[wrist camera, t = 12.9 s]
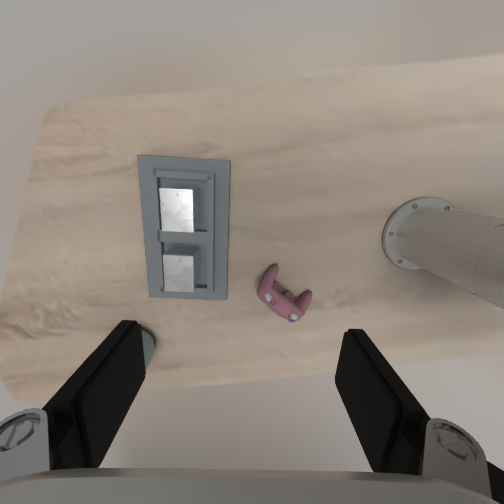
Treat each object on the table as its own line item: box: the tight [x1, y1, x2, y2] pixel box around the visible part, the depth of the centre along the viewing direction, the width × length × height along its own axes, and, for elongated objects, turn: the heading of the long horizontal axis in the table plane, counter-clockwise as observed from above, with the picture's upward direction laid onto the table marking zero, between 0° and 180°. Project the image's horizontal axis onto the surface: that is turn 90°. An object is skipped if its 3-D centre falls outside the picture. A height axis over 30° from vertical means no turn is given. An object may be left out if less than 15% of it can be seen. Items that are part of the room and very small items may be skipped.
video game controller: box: [257, 264, 312, 322], centre depth 41 cm, size 10×5×7 cm, turn 51°
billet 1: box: [159, 187, 200, 232], centre depth 35 cm, size 4×6×5 cm
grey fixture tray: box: [137, 155, 230, 300], centre depth 39 cm, size 14×24×2 cm, turn 177°
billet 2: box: [163, 246, 200, 292], centre depth 38 cm, size 4×6×5 cm
